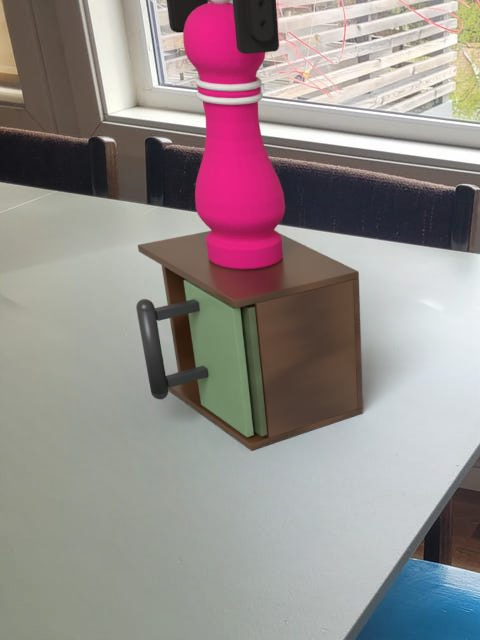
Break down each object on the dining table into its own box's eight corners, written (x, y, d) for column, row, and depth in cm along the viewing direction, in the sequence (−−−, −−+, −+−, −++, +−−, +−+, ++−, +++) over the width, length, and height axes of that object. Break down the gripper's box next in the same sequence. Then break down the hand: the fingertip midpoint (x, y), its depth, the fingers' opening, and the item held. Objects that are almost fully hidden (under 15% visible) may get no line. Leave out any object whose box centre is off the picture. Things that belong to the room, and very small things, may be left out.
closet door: (192, 455, 82) (172, 323, 75) (147, 420, 87) (124, 292, 80) (254, 435, 85) (240, 307, 78) (207, 402, 90) (190, 278, 83)
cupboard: (251, 450, 85) (234, 301, 77) (160, 385, 94) (137, 244, 86) (363, 413, 92) (359, 271, 83) (268, 355, 100) (256, 221, 92)
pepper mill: (237, 278, 81) (206, -15, 68) (184, 255, 84) (146, -27, 72) (306, 259, 85) (289, -20, 72) (254, 238, 89) (228, -31, 76)
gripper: (77, -272, 66) (123, 26, 77) (210, -276, 57) (241, 65, 68) (179, -261, 70) (209, 21, 81) (319, -263, 61) (331, 56, 72)
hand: (223, 40), depth 74 cm, fingers open, 9 cm apart
